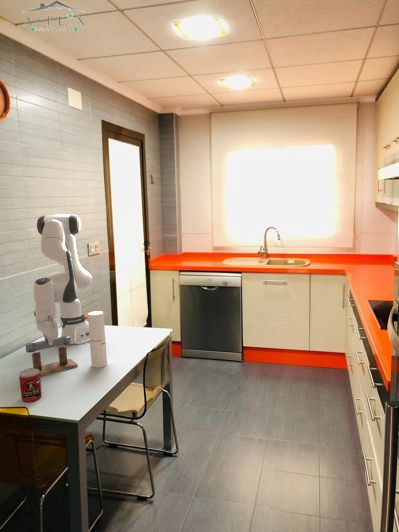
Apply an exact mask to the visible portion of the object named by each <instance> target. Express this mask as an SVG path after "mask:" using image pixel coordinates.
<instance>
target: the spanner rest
mask: <svg viewBox="0 0 399 532" xmlns="http://www.w3.org/2000/svg"><path fill="white" fill-rule="evenodd" d="M57 348H58V350H57V351H58V361H55V362H51V363H45V364H42V357H41V352H39V351H35V352H31V356H32V367H30V368H28V369H31V368H35V369H39V371H40V377H43V376H47V375H51V374H54V373H58V372H59V373H60V372H63V371H65V370H70V369H75V368H79V364H78V363H77V362H76V361H74V360H73V359H72V358H68V350H67V346H66V345H61V346H58V347H57ZM26 369H27V368H26ZM26 369H24V370H26Z"/></svg>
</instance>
